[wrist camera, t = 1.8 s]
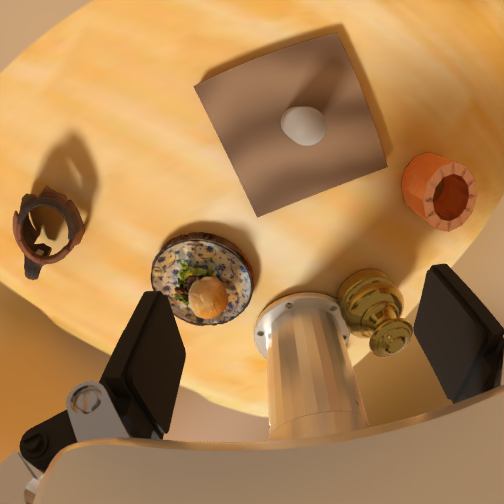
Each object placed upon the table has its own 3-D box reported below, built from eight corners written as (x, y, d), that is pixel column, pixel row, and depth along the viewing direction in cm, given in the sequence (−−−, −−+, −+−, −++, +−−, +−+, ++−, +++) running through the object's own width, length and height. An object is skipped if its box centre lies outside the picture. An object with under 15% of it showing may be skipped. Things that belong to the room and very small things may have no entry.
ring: (454, 201, 29) (478, 217, 25) (408, 221, 30) (429, 240, 26) (445, 146, 26) (471, 155, 22) (395, 163, 27) (417, 175, 23)
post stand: (381, 163, 28) (410, 179, 22) (257, 212, 30) (257, 239, 25) (332, 35, 22) (352, 18, 16) (196, 87, 24) (180, 81, 19)
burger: (151, 228, 32) (126, 261, 25) (258, 235, 32) (258, 272, 25) (159, 313, 37) (143, 354, 30) (250, 321, 37) (248, 365, 31)
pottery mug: (29, 171, 28) (14, 182, 22) (93, 189, 34) (94, 203, 27) (13, 258, 30) (0, 287, 24) (72, 272, 36) (72, 303, 30)
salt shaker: (367, 255, 33) (407, 303, 24) (399, 288, 35) (437, 336, 26) (323, 298, 35) (348, 355, 26) (358, 326, 37) (385, 380, 28)
